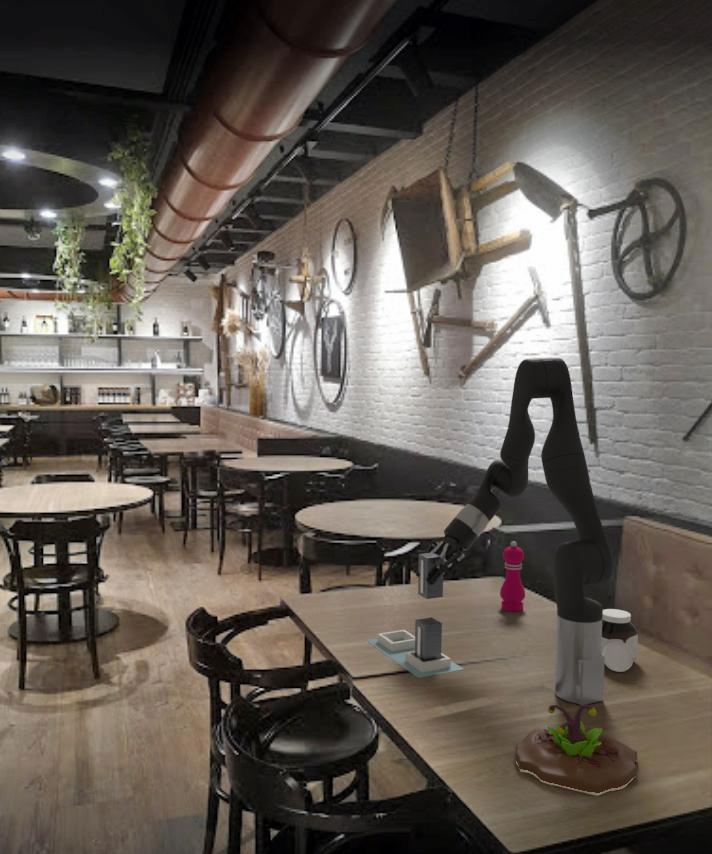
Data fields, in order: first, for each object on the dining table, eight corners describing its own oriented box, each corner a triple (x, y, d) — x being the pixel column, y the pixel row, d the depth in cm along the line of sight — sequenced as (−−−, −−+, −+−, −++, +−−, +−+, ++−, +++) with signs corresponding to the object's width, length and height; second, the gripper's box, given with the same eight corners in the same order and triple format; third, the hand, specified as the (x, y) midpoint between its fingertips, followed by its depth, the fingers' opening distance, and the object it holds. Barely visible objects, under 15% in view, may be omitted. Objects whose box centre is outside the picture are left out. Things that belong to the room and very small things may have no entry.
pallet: (464, 675, 172) (464, 660, 171) (418, 684, 166) (418, 668, 166) (407, 639, 195) (407, 625, 195) (365, 646, 190) (365, 632, 189)
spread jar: (619, 652, 187) (620, 606, 186) (653, 669, 177) (655, 620, 176) (580, 659, 182) (581, 611, 182) (612, 676, 172) (614, 626, 171)
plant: (613, 810, 119) (615, 741, 118) (500, 770, 131) (501, 707, 130) (650, 760, 135) (652, 698, 134) (546, 728, 147) (548, 672, 146)
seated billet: (441, 665, 173) (441, 623, 173) (423, 669, 171) (424, 625, 171) (430, 659, 177) (431, 617, 177) (413, 662, 175) (414, 620, 175)
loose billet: (442, 596, 184) (443, 556, 183) (426, 599, 182) (426, 558, 181) (433, 592, 188) (434, 552, 187) (417, 594, 186) (417, 554, 185)
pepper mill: (523, 605, 225) (524, 538, 224) (526, 612, 218) (528, 544, 216) (498, 604, 226) (500, 538, 224) (500, 611, 218) (502, 543, 217)
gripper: (442, 512, 193) (400, 563, 189) (473, 522, 180) (428, 577, 176) (460, 531, 196) (418, 582, 192) (491, 542, 183) (447, 597, 179)
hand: (423, 579), depth 184 cm, fingers closed on loose billet, 4 cm apart
